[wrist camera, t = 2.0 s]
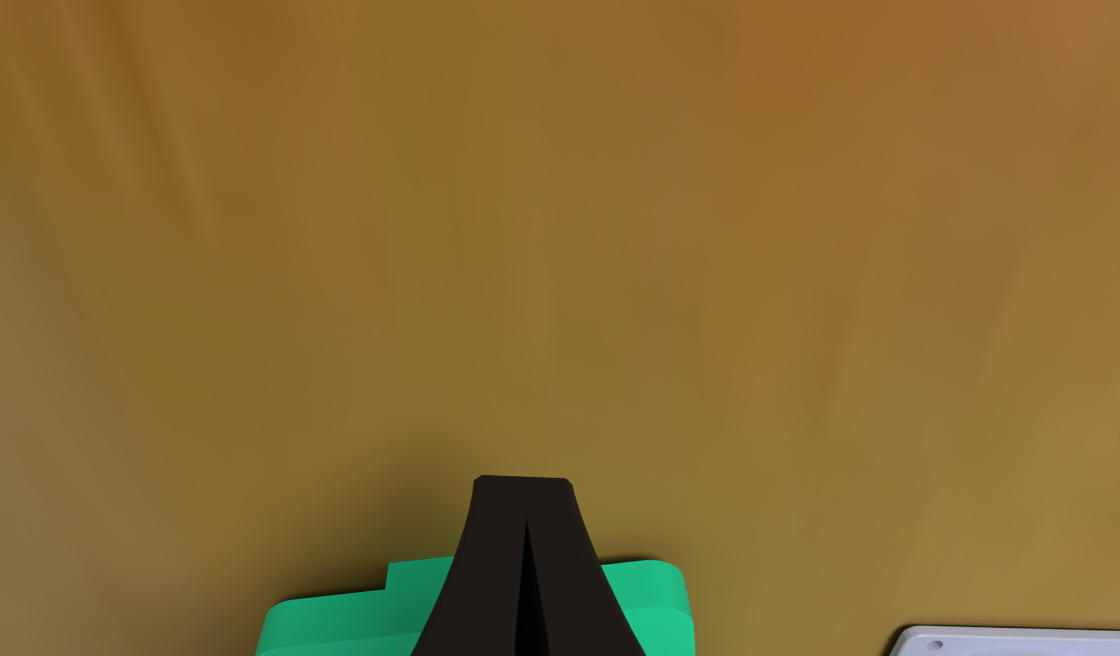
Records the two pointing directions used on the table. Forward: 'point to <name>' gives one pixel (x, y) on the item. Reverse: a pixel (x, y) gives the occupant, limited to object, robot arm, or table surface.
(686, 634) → the camera mount
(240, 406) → the table surface
